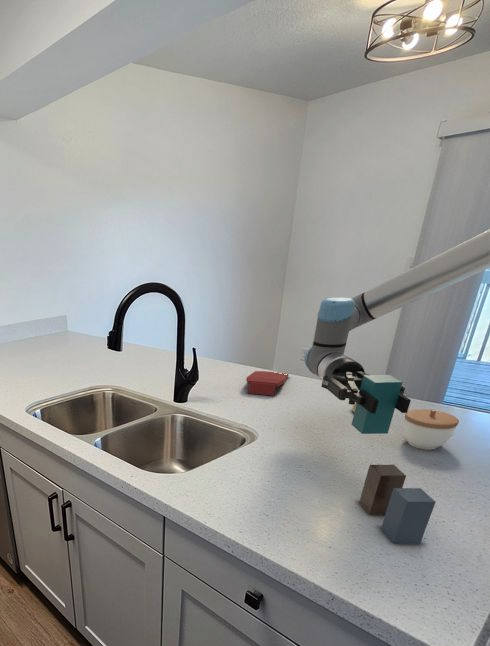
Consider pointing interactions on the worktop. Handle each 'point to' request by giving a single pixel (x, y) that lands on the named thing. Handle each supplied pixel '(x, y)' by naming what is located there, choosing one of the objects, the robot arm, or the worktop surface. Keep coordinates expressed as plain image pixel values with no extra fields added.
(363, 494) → the walnut block
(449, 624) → the worktop surface
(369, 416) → the teal block
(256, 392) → the carton
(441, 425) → the trinket box
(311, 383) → the worktop surface
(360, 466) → the worktop surface
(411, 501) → the slate block
